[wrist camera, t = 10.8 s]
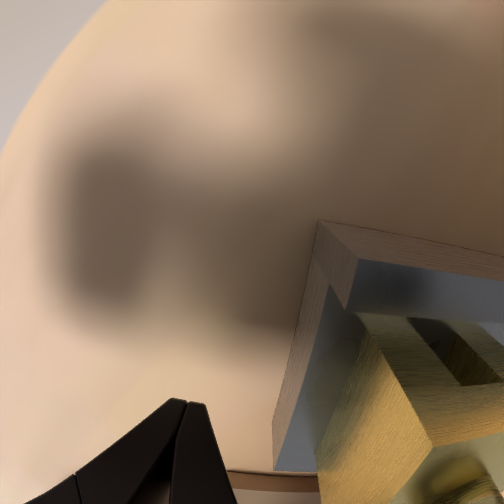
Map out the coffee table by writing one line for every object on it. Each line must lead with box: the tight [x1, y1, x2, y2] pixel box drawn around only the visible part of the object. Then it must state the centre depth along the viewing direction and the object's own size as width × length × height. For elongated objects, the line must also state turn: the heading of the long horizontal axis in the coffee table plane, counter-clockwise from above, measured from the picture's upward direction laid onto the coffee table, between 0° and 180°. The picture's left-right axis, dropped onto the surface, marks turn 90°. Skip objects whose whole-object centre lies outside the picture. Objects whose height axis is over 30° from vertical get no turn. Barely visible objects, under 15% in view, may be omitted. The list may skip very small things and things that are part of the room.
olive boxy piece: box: [315, 327, 504, 504], centre depth 5 cm, size 4×5×5 cm
